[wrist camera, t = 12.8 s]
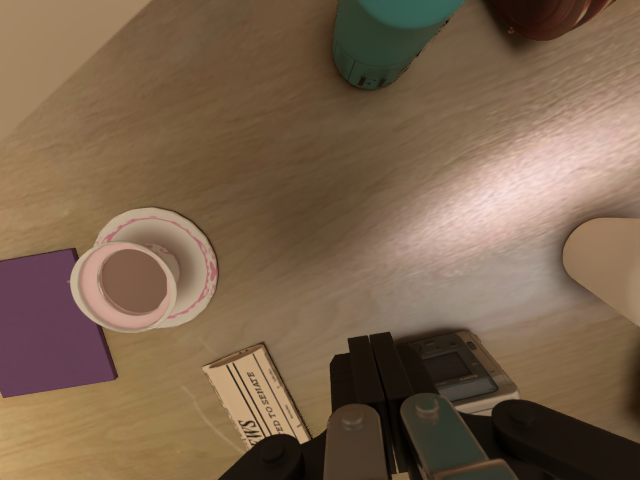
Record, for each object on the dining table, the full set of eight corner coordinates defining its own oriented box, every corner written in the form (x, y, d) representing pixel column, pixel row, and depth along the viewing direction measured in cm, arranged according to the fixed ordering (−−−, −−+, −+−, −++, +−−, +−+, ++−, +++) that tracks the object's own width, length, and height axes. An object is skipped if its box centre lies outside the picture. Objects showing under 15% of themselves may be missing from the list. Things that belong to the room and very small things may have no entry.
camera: (369, 391, 38) (386, 471, 28) (358, 342, 37) (372, 408, 27) (478, 368, 37) (534, 443, 27) (470, 318, 36) (526, 377, 26)
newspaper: (351, 514, 41) (353, 530, 39) (295, 534, 42) (294, 550, 40) (264, 341, 37) (261, 350, 35) (201, 366, 37) (196, 376, 35)
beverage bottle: (343, 105, 32) (383, 18, 12) (319, 26, 30) (318, -216, 11) (415, 79, 31) (576, -56, 12) (393, -2, 30) (534, -310, 10)
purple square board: (-45, 268, 35) (-51, 270, 34) (75, 247, 34) (70, 249, 34) (7, 394, 38) (2, 398, 37) (118, 376, 37) (114, 380, 37)
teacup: (219, 210, 34) (197, 221, 28) (218, 329, 36) (198, 363, 30) (89, 202, 33) (39, 211, 27) (98, 322, 36) (54, 354, 30)
